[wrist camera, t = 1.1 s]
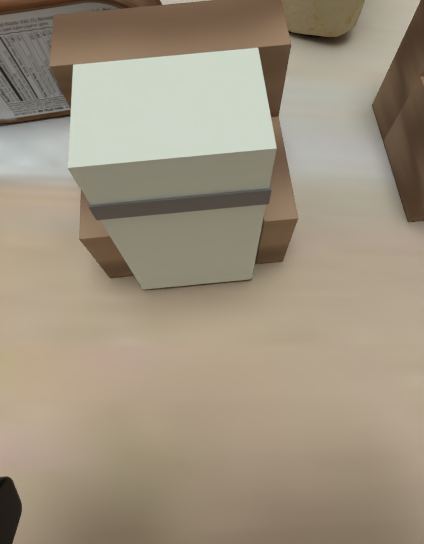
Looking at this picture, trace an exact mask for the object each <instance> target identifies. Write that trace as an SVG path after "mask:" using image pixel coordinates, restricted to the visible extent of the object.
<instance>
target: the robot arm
mask: <svg viewBox="0 0 424 544" xmlns="http://www.w3.org/2000/svg"><path fill="white" fill-rule="evenodd" d="M21 512H22V504H21V500H20V498H19V495H18V493H17V490H16V488H15V485H14V482H13V480H12V479H11V478H10V477H7V476H6V477H0V544H12V543H13V540H14V536H15V533H16V530H17V527H18V523H19V520H20V517H21Z"/></svg>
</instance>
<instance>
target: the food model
mask: <svg viewBox="0 0 424 544" xmlns="http://www.w3.org/2000/svg"><path fill="white" fill-rule="evenodd" d="M281 1H282V6H283V10H284V15H285V19H286V23H287V28H288V30H289V31H291V32H294V33H301V34H308V35H318V36H325V37H337V36H340V35H342V34H344V33H346V32H348V31H350V30H351V29H352V28H353V27H354V26H355V25H356V22H357V20H358V18H359V15H360V12H361V10H362V7H363V4H364V1H365V0H281Z"/></svg>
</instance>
